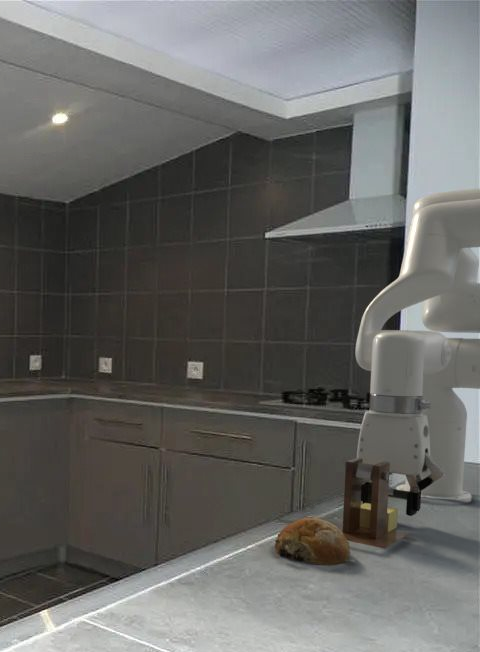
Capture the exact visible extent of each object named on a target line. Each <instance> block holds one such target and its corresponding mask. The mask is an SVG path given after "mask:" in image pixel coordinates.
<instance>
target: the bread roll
mask: <svg viewBox="0 0 480 652" xmlns="http://www.w3.org/2000/svg"><path fill="white" fill-rule="evenodd" d="M335 525H336V524H333V522H330V521H328V520H325V519H322V518H318V517H304V518H303V517H302V518H300V519H297V520H295V521H292V522H291V523H289V524H287V525H285V526H284V527H283V528H282V529H281V531H280V532H279V533H277V537H276V539H275V540H274V542H275V543H274V549H275V551H276V554H278V555H279V556H280V557H282V558H288V559H289V558H290V559H293V560H294V561H296V562H305V563H308V564H313V565H319V566H334V565H340V564H346V563H349V562H350V560H351V557H352V556H351V546H350V541H348V540H347V539H346V538H345V536H344V534H343V533H342V532H341V530H340V529H338V528H337V526H335Z"/></svg>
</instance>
